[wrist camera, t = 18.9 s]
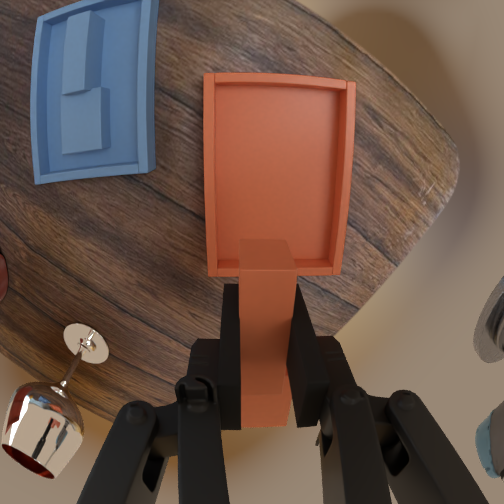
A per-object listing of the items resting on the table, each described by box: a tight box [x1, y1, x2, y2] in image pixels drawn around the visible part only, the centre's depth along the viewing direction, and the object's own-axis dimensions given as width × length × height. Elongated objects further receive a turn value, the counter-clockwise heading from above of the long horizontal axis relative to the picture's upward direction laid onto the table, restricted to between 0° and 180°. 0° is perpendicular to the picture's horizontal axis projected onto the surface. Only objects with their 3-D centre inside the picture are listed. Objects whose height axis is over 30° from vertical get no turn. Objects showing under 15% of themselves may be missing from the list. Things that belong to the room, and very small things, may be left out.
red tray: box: [203, 73, 356, 277], centre depth 24 cm, size 12×17×2 cm
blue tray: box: [30, 0, 159, 185], centre depth 20 cm, size 12×17×2 cm
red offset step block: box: [239, 239, 298, 428], centre depth 15 cm, size 12×4×3 cm, turn 178°
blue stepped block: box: [61, 10, 111, 155], centre depth 19 cm, size 12×4×3 cm, turn 179°
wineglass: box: [1, 323, 109, 479], centre depth 23 cm, size 8×8×18 cm
